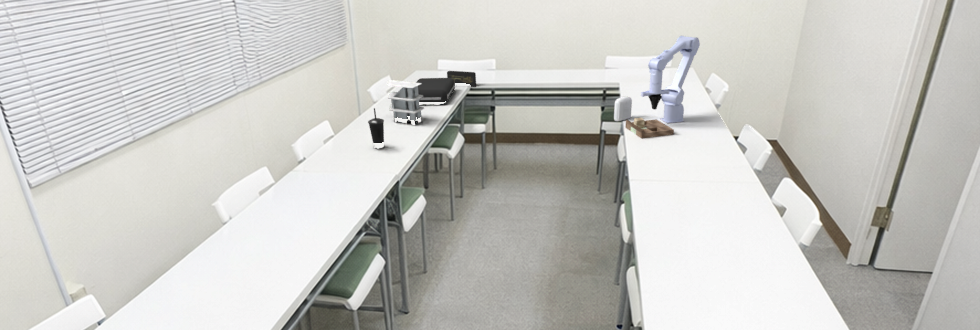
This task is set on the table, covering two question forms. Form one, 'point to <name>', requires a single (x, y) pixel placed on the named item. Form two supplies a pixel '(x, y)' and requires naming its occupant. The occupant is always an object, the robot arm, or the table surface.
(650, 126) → the box
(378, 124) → the drinking cup
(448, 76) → the nameplate
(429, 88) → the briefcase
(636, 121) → the maple block
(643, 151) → the table surface
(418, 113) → the file organizer
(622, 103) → the photo printer
